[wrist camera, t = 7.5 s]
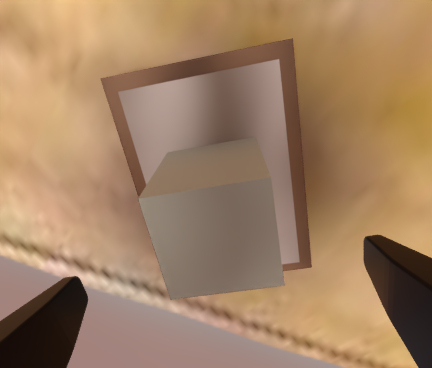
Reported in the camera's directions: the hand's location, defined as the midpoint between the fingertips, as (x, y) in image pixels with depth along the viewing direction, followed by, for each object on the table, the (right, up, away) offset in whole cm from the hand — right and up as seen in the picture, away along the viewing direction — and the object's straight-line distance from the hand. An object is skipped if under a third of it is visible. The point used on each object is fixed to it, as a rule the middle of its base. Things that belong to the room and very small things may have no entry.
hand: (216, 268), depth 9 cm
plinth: (0, +4, +11) cm, 12 cm away
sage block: (0, +3, +8) cm, 9 cm away
